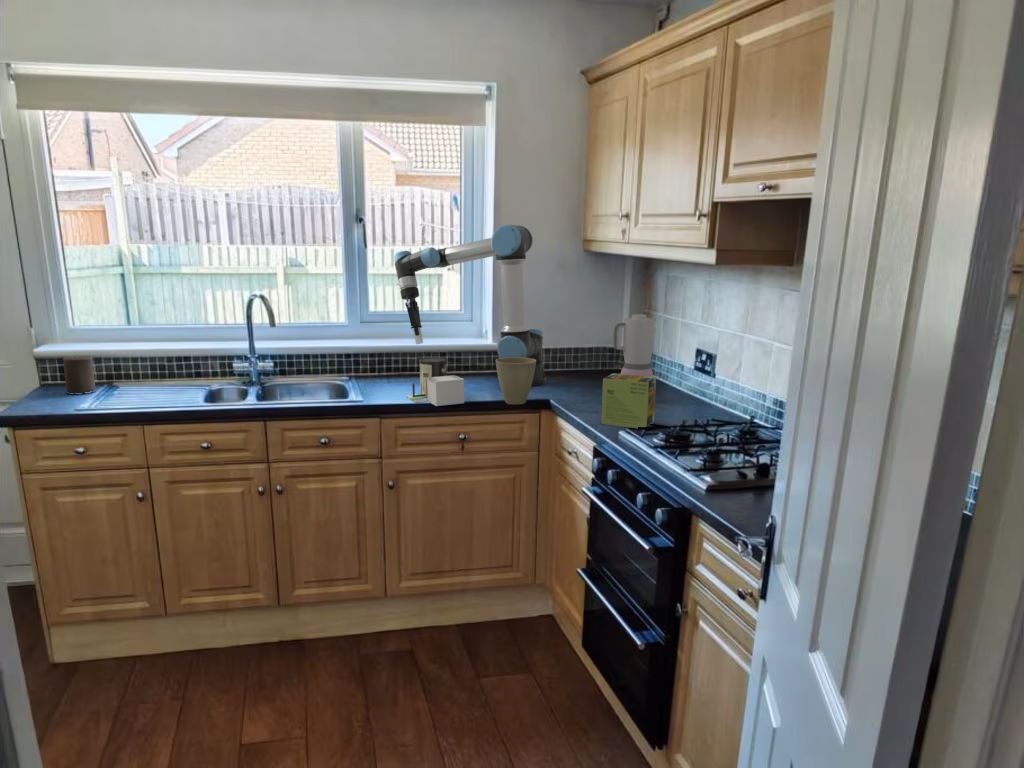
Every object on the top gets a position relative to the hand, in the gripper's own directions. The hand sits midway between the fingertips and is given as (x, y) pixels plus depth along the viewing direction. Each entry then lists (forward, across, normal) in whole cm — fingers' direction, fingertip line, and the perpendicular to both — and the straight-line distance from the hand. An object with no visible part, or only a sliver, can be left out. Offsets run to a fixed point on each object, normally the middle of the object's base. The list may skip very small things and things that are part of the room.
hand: (419, 343), depth 288 cm
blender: (+41, +13, +79) cm, 90 cm away
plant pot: (+34, +24, +37) cm, 56 cm away
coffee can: (+24, +18, +6) cm, 30 cm away
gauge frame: (+26, +25, +7) cm, 37 cm away
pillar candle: (-5, +33, -127) cm, 132 cm away
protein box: (+49, +48, +75) cm, 101 cm away
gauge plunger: (+26, +26, +8) cm, 38 cm away
